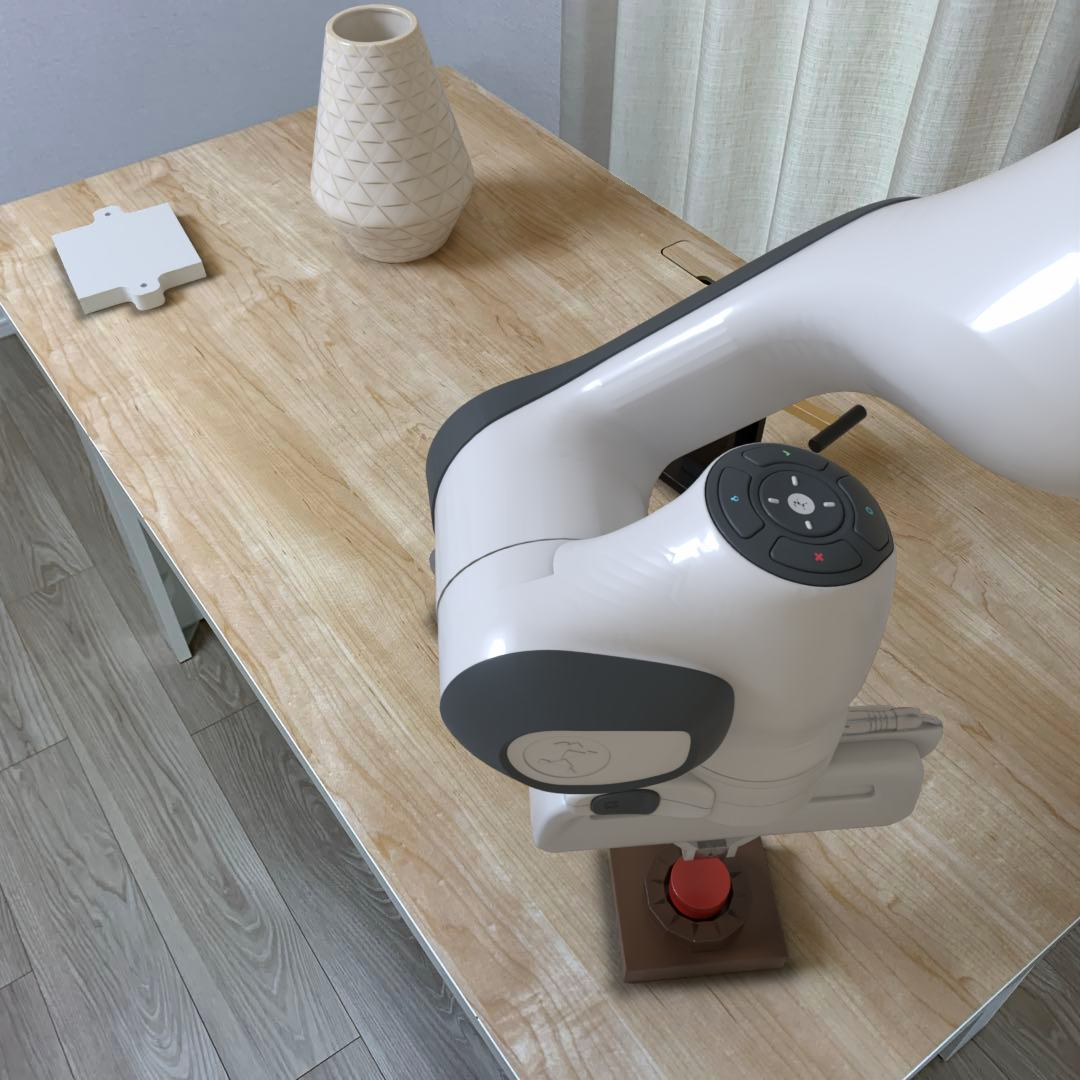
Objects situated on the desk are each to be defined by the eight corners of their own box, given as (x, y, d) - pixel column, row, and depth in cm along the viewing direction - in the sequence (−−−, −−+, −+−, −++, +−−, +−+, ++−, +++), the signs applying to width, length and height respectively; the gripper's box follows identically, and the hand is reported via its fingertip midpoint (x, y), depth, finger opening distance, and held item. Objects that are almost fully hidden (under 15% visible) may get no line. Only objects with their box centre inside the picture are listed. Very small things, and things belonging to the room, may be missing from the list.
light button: (720, 860, 66) (724, 848, 65) (732, 916, 64) (736, 905, 62) (664, 864, 66) (666, 853, 65) (673, 921, 64) (676, 911, 62)
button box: (755, 846, 70) (764, 820, 67) (782, 968, 65) (793, 946, 62) (607, 859, 70) (609, 833, 67) (623, 983, 65) (626, 961, 62)
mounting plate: (52, 239, 117) (45, 224, 116) (166, 206, 121) (161, 191, 119) (90, 327, 107) (84, 312, 105) (213, 289, 111) (209, 274, 109)
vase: (444, 294, 110) (422, 79, 92) (294, 265, 113) (245, 53, 96) (499, 204, 120) (489, -4, 102) (360, 181, 124) (327, -25, 106)
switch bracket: (790, 484, 92) (820, 362, 81) (729, 531, 88) (752, 410, 78) (705, 425, 96) (723, 303, 86) (644, 468, 93) (655, 347, 82)
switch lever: (864, 427, 79) (869, 402, 78) (819, 462, 77) (823, 437, 75) (742, 361, 86) (744, 337, 84) (697, 392, 84) (698, 368, 82)
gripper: (932, 654, 52) (867, 782, 63) (523, 684, 51) (527, 809, 62) (976, 768, 48) (899, 885, 59) (533, 804, 47) (536, 915, 58)
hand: (706, 846), depth 60 cm, fingers closed
